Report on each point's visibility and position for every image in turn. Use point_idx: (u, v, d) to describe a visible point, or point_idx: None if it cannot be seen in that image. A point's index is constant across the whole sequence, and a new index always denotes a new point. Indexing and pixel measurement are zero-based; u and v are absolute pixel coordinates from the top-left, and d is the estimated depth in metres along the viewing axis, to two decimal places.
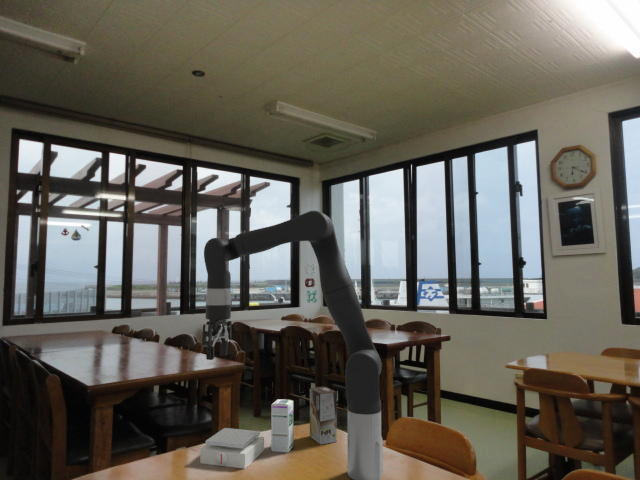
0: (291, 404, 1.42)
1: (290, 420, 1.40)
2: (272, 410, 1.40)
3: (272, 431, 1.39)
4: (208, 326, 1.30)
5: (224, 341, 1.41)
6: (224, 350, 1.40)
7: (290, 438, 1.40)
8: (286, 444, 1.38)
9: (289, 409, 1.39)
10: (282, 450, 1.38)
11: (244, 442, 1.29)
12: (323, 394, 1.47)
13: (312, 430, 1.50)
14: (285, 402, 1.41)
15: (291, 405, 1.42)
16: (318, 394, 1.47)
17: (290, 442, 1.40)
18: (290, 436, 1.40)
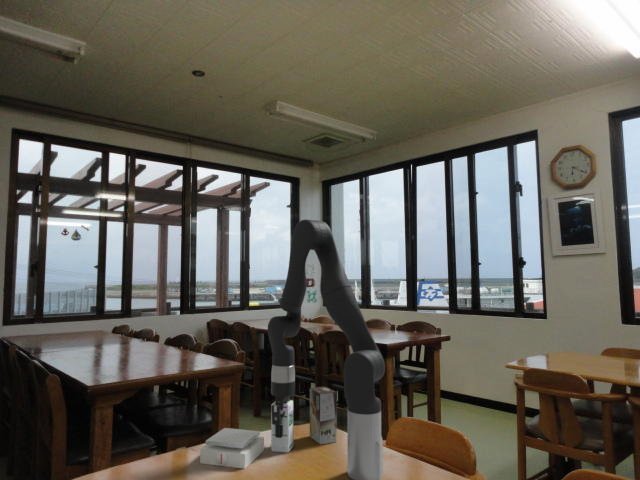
0: (291, 404, 1.42)
1: (290, 420, 1.40)
2: None
3: (272, 431, 1.39)
4: (276, 408, 1.36)
5: None
6: None
7: (290, 438, 1.40)
8: (286, 444, 1.38)
9: (289, 409, 1.39)
10: (282, 450, 1.38)
11: (244, 442, 1.29)
12: (323, 394, 1.47)
13: (312, 430, 1.50)
14: None
15: (291, 405, 1.42)
16: (318, 394, 1.47)
17: (290, 442, 1.40)
18: (290, 436, 1.40)
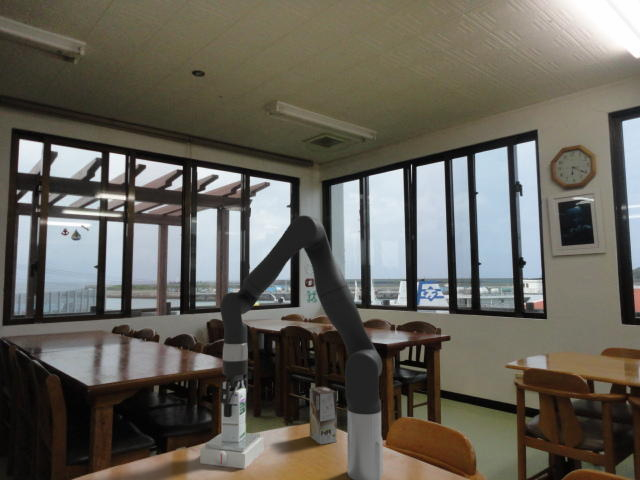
0: (243, 392, 1.36)
1: (241, 409, 1.34)
2: None
3: (222, 420, 1.33)
4: (226, 384, 1.30)
5: None
6: None
7: (241, 427, 1.33)
8: (237, 434, 1.32)
9: (239, 397, 1.33)
10: (232, 440, 1.32)
11: (244, 445, 1.29)
12: (323, 394, 1.47)
13: (312, 430, 1.50)
14: None
15: (243, 393, 1.36)
16: (318, 394, 1.47)
17: (241, 431, 1.33)
18: (241, 425, 1.34)
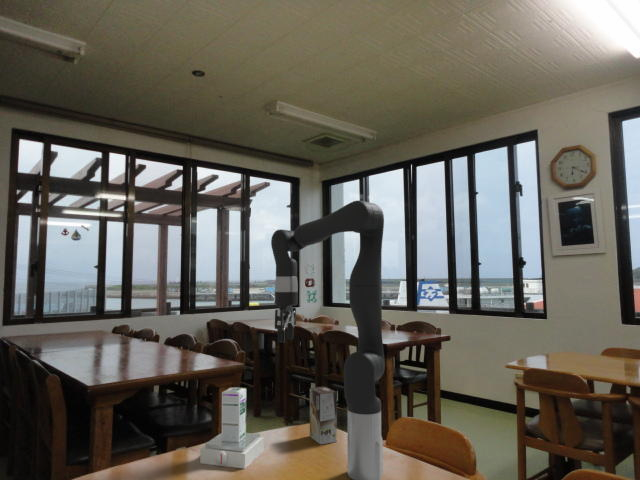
0: (243, 392, 1.36)
1: (241, 409, 1.34)
2: (222, 398, 1.34)
3: (222, 420, 1.33)
4: (280, 311, 1.40)
5: (290, 326, 1.50)
6: (290, 334, 1.50)
7: (241, 427, 1.33)
8: (237, 434, 1.32)
9: (240, 397, 1.33)
10: (232, 440, 1.32)
11: (244, 445, 1.29)
12: (323, 394, 1.47)
13: (312, 430, 1.50)
14: (237, 390, 1.35)
15: (243, 393, 1.36)
16: (318, 394, 1.47)
17: (241, 432, 1.33)
18: (241, 425, 1.34)
